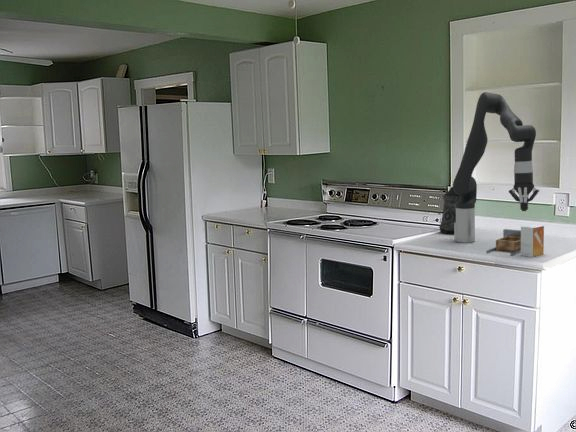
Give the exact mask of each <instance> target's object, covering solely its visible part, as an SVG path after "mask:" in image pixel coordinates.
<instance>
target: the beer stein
mask: <svg viewBox="0 0 576 432" xmlns="http://www.w3.org/2000/svg"><path fill="white" fill-rule="evenodd" d="M459 196H460V195H458V194H456V193H455V192H454V190H453V186H452V187H450V189H449V190H448V191H447V192H445V193H444V194H443V196H442V199H443V208H442V209H443V210H442V216H441V221H440V224H439V228H438V229H439V231H440V232H439V233H440V234H442V235H446V236H447V235H448V236H454V223H455V222H456V202H457V201H458V199H459Z"/></svg>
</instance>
